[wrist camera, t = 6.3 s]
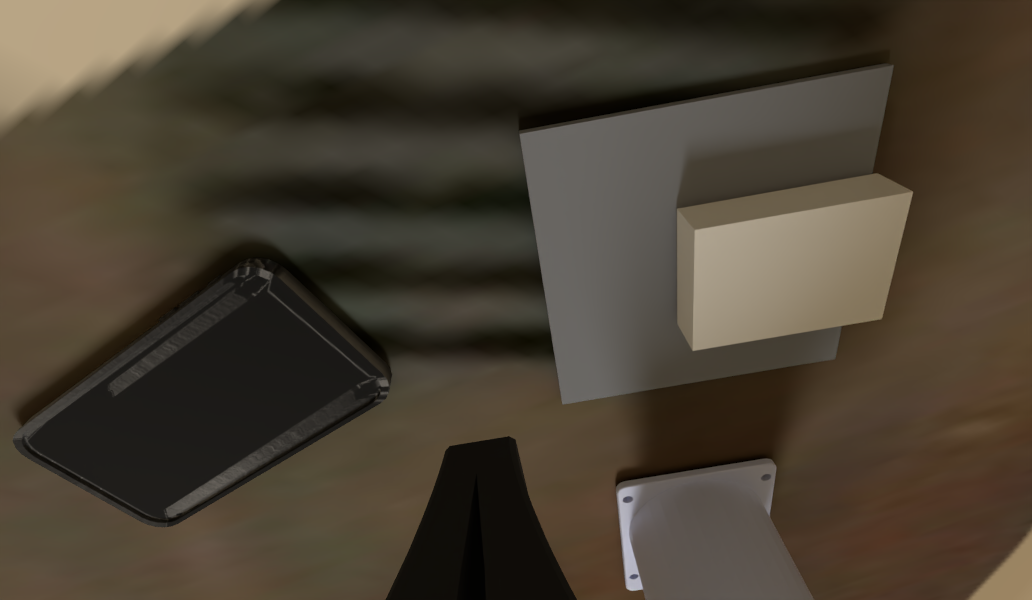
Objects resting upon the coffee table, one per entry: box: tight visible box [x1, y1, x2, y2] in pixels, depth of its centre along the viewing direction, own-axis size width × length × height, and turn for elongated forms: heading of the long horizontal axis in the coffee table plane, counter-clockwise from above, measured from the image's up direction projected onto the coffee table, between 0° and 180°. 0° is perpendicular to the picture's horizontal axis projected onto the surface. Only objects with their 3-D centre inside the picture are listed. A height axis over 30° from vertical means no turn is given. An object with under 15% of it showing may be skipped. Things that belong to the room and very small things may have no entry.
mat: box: [519, 63, 894, 404], centre depth 20 cm, size 12×12×1 cm
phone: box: [13, 258, 392, 527], centre depth 23 cm, size 8×1×15 cm
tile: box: [677, 173, 913, 351], centre depth 19 cm, size 5×2×7 cm
